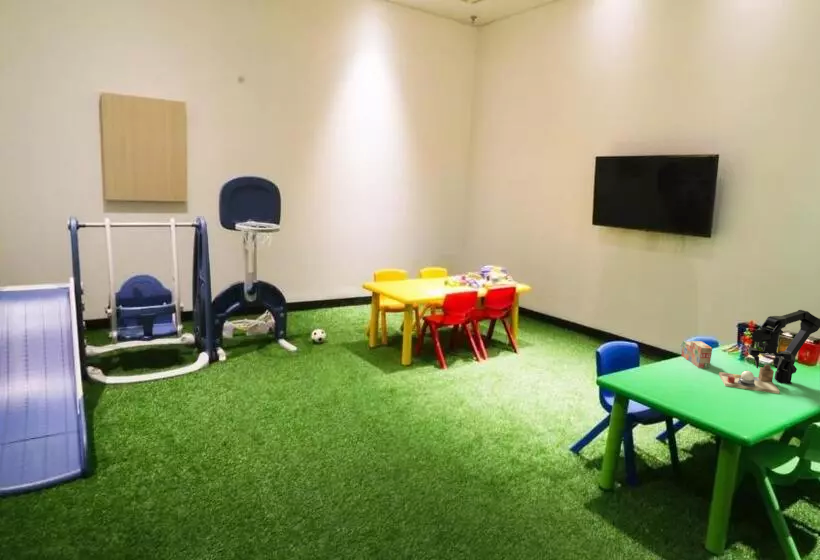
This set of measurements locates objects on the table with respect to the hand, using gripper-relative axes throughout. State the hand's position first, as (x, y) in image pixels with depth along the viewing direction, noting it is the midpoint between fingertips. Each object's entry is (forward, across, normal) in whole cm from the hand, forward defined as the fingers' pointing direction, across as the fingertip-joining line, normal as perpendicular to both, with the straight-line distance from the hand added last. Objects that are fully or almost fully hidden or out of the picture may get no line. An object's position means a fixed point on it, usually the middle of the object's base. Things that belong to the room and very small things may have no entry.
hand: (767, 369), depth 284 cm
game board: (+8, +9, +6) cm, 13 cm away
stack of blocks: (+8, +31, -22) cm, 38 cm away
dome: (+4, +11, +11) cm, 16 cm away
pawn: (+6, 0, 0) cm, 6 cm away
